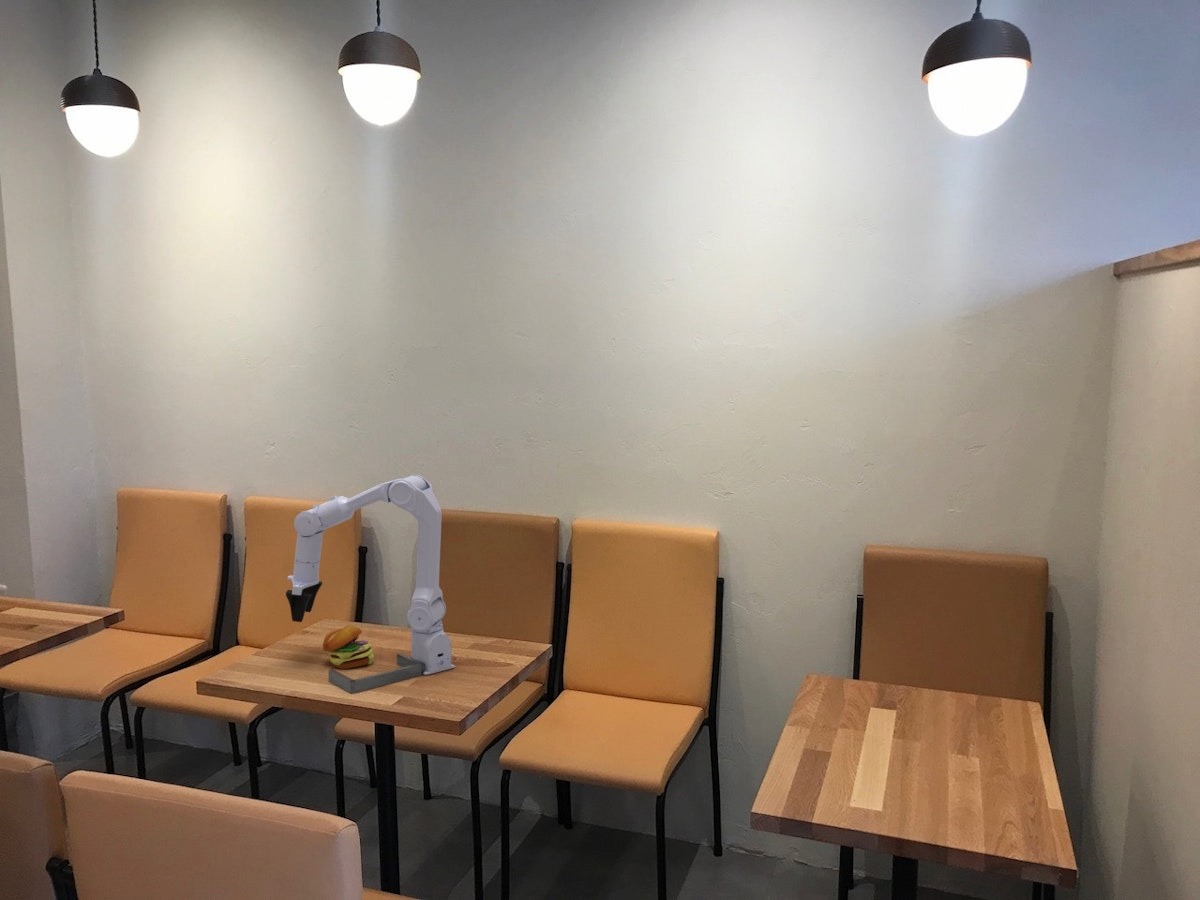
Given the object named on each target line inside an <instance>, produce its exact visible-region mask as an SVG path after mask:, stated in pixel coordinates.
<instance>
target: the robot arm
mask: <svg viewBox="0 0 1200 900" xmlns="http://www.w3.org/2000/svg"><path fill="white" fill-rule="evenodd" d="M380 501H381V502H385V503H387V504H389V503H392V504H393V505H394V506H396V507H397V508H400V509H402V510H404V511H406V512H408V513H410V514H411V516H413V517H414V518H415V519H416V520H417V547H416V566H415V567H416V568H415V569H416V572H415V589H414V592H413V594H412V597H411V604H410V607H409V609H408V611H407V613H406V621H407V624H408V626H409V627H410V634H411V635H410V644H411V645H410V646H411V648H410V649H411V650H410V651H411V656H410V657H411V658H413V659H415V660H418V661H420V662H422V663H424V664H425V672H423V674H424V675H423V676H427V675H431V674H435V673H440V672H442V671H443V672H444V671H447V670H451V669H454V668H455V667H456V665H454V664H452V641H451V638H450V637H449V636H448V635H447V634H446V633H445V631H444V624H443V622H442V619H443V618H444V616H445V615H446V612H447V607H446V603H445V601H444V598H443V597H444V596H443V590H442V589H441V587H440V563H441V547H442V545H441V542H442V541H441V540H442V518H443V517H442V516H443V515H442V514H443V513H442V512H443V511H442V509H441V506H440V504H439V502H438V499H437V498H436V495H435V494H434V492H433V485H432V483H430V482H429V481H428V480H427V479H425V477H423V476H422V475H420V474H411V475H409V476H407V477H401V478H397V479H393V480H392V479H391V480H389V481H386V482H382V483H380V484H379V483H378V484H377V485H375V486H373V487H371V488H369V489H367V490H365V491H362V492H361V493H358V494H356V495H354V496H352V497H350V498H349V497H346V496H343V495H340V496H338V495H334V496H333V495H332V496H331V497H330V498H329V501H326V502H324V503H322V504H319V503H316V504H314V505H312V508H311V509H308V510H302V511H301V512H300V513H298V514H297V515H296V516H295V517H294V520H293V527H294V529H295V532H296V533H297V534H296V543H295V544H296V545H295V550H294V551H295V553H294V562H293V563H294V565H293V571H292V573H293V574H292V575H288V576H287V581H291V583H292V589H288V590H286V591H285V597H286V599H287V601H288V604H289V607H290V615H291V621H292V622H297V623H302V622H303V620H304V618H305V613H311V611H312V609H313V607H314V604H315V600H316V597H317V594H318V592H319V590H320V588H321V587H322V585H323V581H321V580H320V578H319V576H320V567H321V566H320V565H321V556H322V547H323V539H324V538H323V537H324V531H325V530H327V529H330V528H332V527H334V526H337V525H339V524H342V523H344V522H347V521H348V520H351V519H352V518H353V516H354V513H355V511H357V510H360V509H361V508H365V507H367V506H370V505H372V504H375V503H377V502H380Z"/></svg>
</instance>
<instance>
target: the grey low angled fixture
mask: <svg viewBox="0 0 1200 900" xmlns="http://www.w3.org/2000/svg"><path fill="white" fill-rule="evenodd" d="M396 665H398V666H400V667H399V668H396V669H390V670H387V671H384V672H379V673H375V674H370V675H367V676H363V677H359V678H356V679H353V678H351V677H349V676H347V675H345V674H343V673H342V672H339V671H338V670H335V669H333V668H330V669H328V671H327V672H328V673H327V675H328V676H327V677H328V682H330V683H331V684H333V685H335V686H337V687H339V689H343V690H344V691H346V692H348V693H350V694H351V695H352V694H355V693H360V692H363V691H367V690H371V689H374V688H375V689H376V688H378V687H382V686H386V685H390V684H394V683H398V682H401V681H405V680H409V679H413V678H417V677H421V676H425V675H424V674H423V672H425V664H424V663H422V662H420V661H418V660H415V659H413V658H412V657H411V656H408V655H406V654H404V653H402V652H398V653H396Z"/></svg>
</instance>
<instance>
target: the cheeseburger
mask: <svg viewBox="0 0 1200 900" xmlns="http://www.w3.org/2000/svg"><path fill="white" fill-rule="evenodd" d="M362 633H363V630H362V629H361V628H360V627H359V626H357V625H353V624H349V625H348V624H347V625H346V626H344V627H342V628H341V627H340V628H338V629H335V630H333V631H330V632H328V633H327V634H326V635H325V637H324V639H323V642H322V649H323V651H324V652H327V653H328V655H329V656H328V658H329V661H330V663H331V664H332V666H333V667H335V668H338V669H340V670H341V669H342V670H343V669H345V670H346V669H352V668H356V667H361V666H364V665H367V664H368V665H371V664H372V663H373V662H374V659H375V655H374V654H373V649H372V647H373V645H372V644H371V643H370V642H369V641H368V640H363V639H362V640H358V639H359V635H361V634H362Z"/></svg>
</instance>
